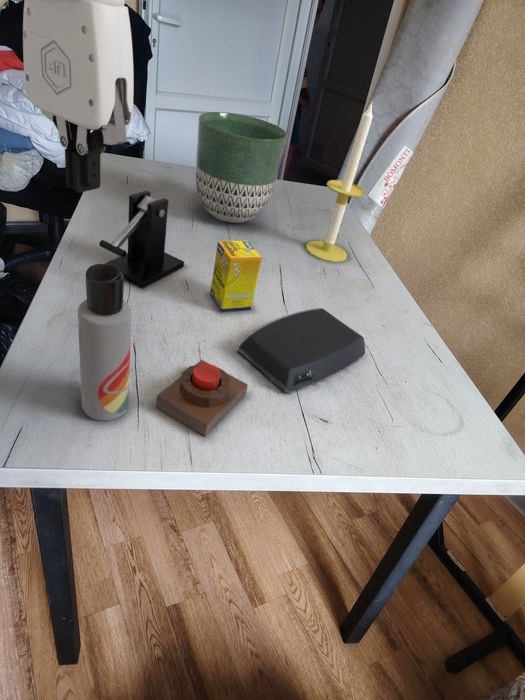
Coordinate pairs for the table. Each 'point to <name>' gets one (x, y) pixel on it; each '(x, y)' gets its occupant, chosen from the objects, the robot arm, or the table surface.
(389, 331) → the table surface
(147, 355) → the table surface
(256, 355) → the hard drive
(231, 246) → the supplement box
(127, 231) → the lever handle
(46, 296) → the table surface
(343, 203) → the candle
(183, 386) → the button block
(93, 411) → the lotion bottle
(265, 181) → the planter
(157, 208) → the lever bracket
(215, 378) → the button
